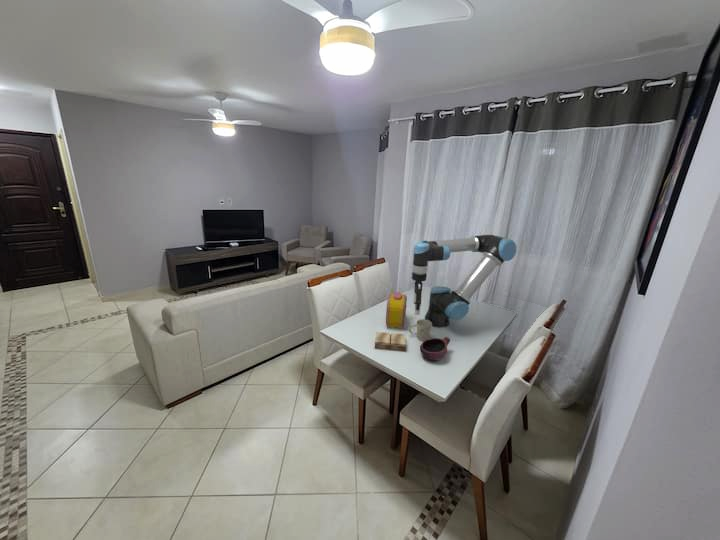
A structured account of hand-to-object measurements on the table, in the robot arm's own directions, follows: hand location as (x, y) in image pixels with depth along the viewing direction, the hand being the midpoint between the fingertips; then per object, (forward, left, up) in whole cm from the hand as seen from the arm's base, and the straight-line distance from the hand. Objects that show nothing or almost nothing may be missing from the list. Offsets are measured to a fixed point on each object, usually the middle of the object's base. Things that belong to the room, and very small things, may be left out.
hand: (416, 309), depth 148 cm
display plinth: (+13, +10, -17) cm, 24 cm away
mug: (-3, +1, -18) cm, 18 cm away
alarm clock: (+10, -14, -18) cm, 25 cm away
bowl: (-9, +16, -18) cm, 25 cm away
